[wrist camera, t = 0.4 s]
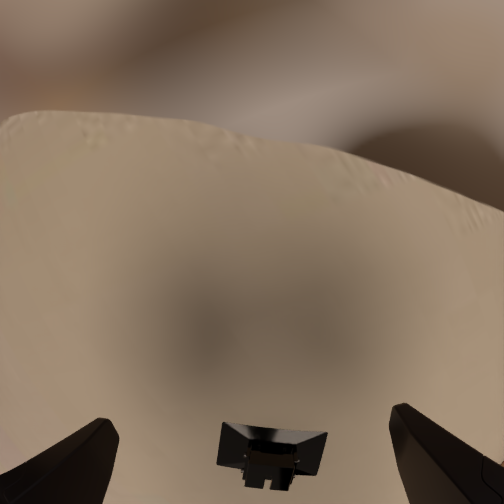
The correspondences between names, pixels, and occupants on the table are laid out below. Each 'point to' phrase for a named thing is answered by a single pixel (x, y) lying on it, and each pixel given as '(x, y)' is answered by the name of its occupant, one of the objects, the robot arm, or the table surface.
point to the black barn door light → (270, 453)
